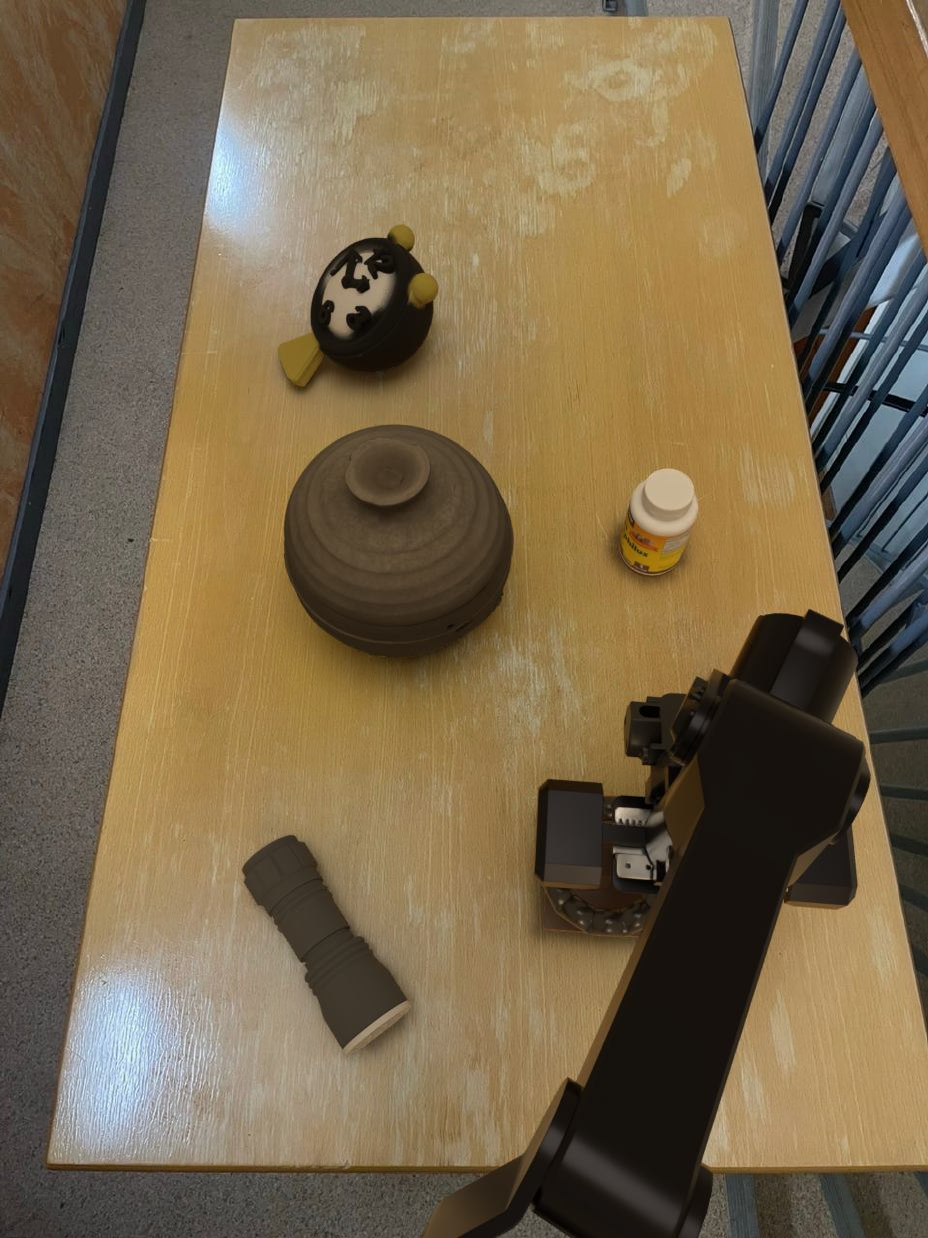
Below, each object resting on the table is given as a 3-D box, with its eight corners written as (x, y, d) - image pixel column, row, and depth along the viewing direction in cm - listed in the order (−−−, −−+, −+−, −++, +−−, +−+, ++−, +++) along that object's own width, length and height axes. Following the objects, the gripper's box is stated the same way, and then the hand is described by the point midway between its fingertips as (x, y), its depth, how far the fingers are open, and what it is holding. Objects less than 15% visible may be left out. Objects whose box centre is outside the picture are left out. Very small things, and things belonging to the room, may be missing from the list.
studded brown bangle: (680, 942, 62) (681, 939, 60) (537, 933, 64) (535, 930, 62) (677, 801, 66) (678, 794, 64) (544, 796, 68) (541, 790, 66)
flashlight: (243, 878, 71) (225, 865, 66) (303, 836, 72) (289, 820, 67) (352, 1056, 65) (341, 1057, 60) (414, 1007, 67) (408, 1004, 62)
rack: (650, 939, 68) (668, 927, 61) (542, 930, 69) (548, 917, 62) (650, 831, 72) (667, 809, 65) (547, 823, 72) (553, 800, 65)
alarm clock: (320, 336, 98) (333, 191, 88) (443, 383, 96) (471, 239, 86) (261, 377, 90) (267, 222, 80) (394, 430, 87) (418, 276, 77)
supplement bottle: (607, 537, 83) (622, 473, 73) (662, 515, 84) (683, 449, 74) (635, 587, 80) (654, 528, 71) (692, 565, 81) (718, 503, 72)
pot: (294, 512, 84) (266, 370, 66) (489, 504, 85) (514, 363, 67) (297, 699, 77) (266, 597, 58) (509, 686, 78) (544, 582, 60)
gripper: (879, 686, 52) (795, 763, 66) (548, 664, 53) (535, 744, 67) (903, 889, 47) (807, 925, 61) (539, 860, 48) (527, 902, 62)
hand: (666, 867), depth 63 cm, fingers closed on studded brown bangle, 2 cm apart
